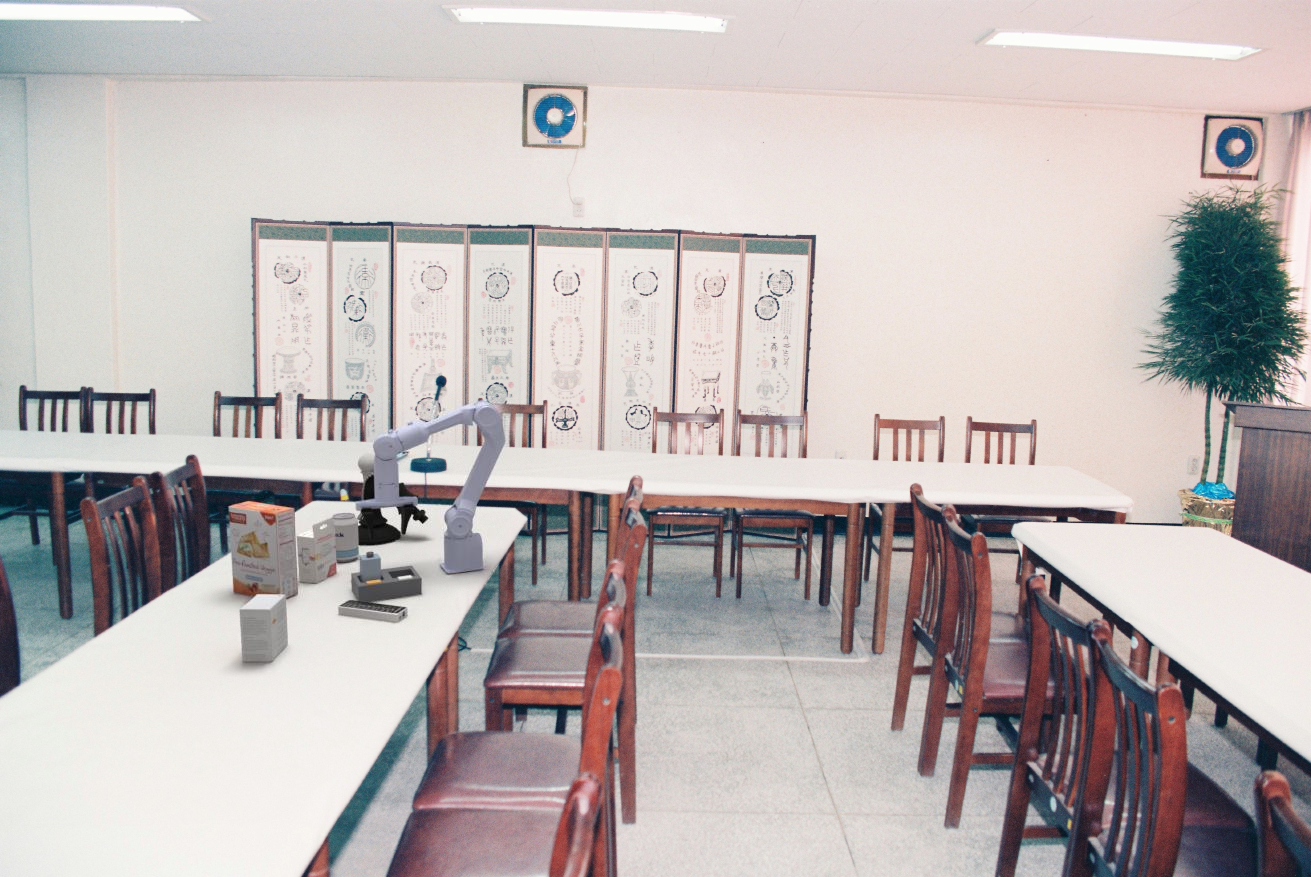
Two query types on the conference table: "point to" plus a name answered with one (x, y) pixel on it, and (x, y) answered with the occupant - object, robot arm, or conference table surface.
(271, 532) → the cracker box
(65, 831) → the conference table surface
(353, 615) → the multiport hub
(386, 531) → the sculpture
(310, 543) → the ink cartridge box
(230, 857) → the conference table surface
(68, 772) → the conference table surface
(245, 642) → the small box
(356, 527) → the beverage can
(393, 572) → the port box
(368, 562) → the plug
